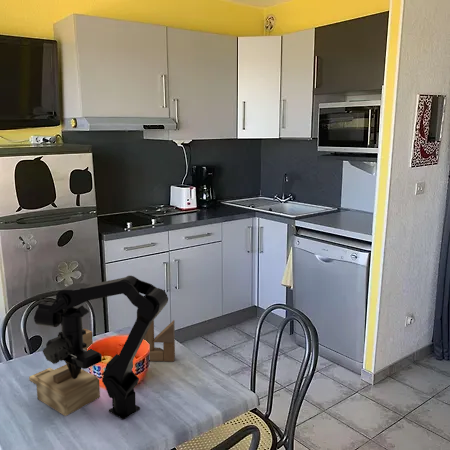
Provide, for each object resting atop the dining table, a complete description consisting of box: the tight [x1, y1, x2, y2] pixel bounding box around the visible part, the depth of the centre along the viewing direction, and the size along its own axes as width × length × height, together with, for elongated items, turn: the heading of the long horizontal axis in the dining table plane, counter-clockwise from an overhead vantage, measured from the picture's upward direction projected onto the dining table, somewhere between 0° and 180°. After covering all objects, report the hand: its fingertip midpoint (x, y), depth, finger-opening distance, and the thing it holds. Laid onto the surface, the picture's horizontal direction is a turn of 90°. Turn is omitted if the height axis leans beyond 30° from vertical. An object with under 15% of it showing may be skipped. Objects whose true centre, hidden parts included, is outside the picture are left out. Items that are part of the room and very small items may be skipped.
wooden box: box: [28, 367, 101, 417], centre depth 143 cm, size 26×12×6 cm, turn 53°
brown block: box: [83, 328, 94, 350], centre depth 161 cm, size 4×4×11 cm
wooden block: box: [143, 319, 176, 363], centre depth 162 cm, size 4×11×18 cm, turn 89°
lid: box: [37, 363, 99, 396], centre depth 138 cm, size 14×11×3 cm
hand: (74, 378), depth 136 cm, fingers closed
